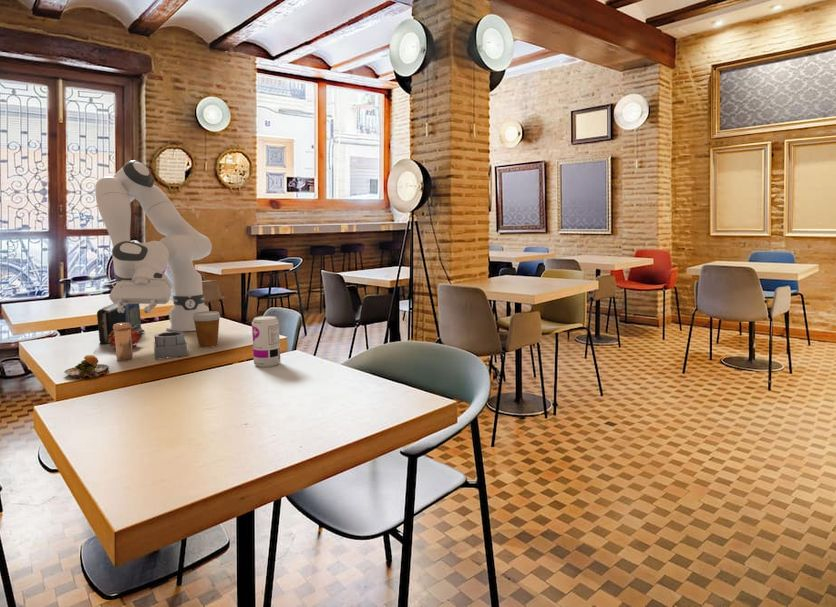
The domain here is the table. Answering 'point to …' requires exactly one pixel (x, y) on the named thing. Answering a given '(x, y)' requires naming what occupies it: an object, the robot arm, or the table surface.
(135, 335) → the dragon fruit
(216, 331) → the disposable coffee cup
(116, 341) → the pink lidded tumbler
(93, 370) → the burger
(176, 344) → the valve body
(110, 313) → the radio
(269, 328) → the supplement can
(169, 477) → the table surface
